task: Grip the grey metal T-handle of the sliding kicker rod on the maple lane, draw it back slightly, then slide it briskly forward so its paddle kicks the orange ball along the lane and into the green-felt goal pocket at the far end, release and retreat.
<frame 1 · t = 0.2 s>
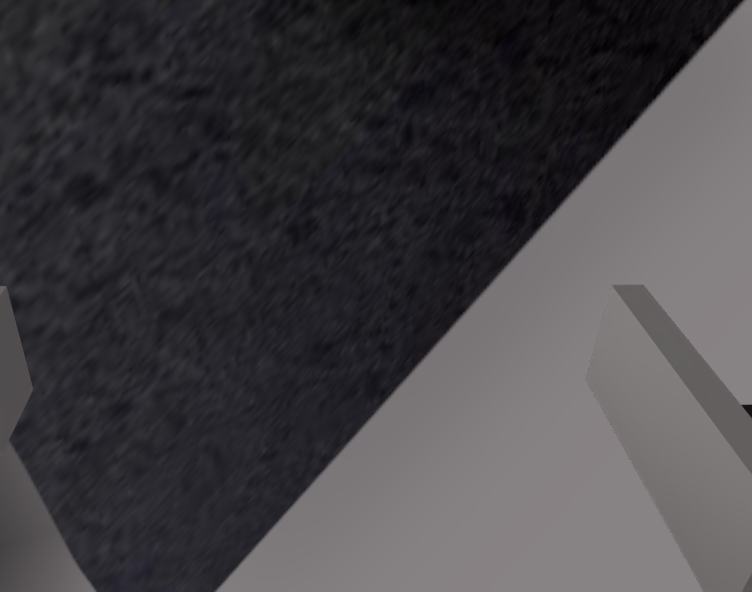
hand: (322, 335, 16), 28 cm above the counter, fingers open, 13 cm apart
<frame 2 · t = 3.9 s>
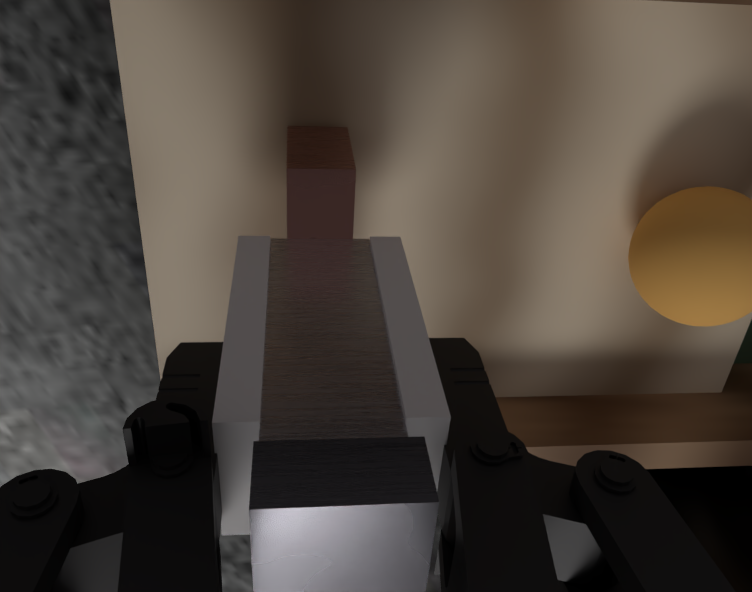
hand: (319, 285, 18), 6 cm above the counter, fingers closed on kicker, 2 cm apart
water bottle: (674, 513, 33), on the counter
kicker: (324, 354, 15), point 8 cm above the counter, slide at 0.0 cm, touching gripper
ball: (702, 256, 20), point 4 cm above the counter, touching lane
lane: (586, 198, 23), on the counter
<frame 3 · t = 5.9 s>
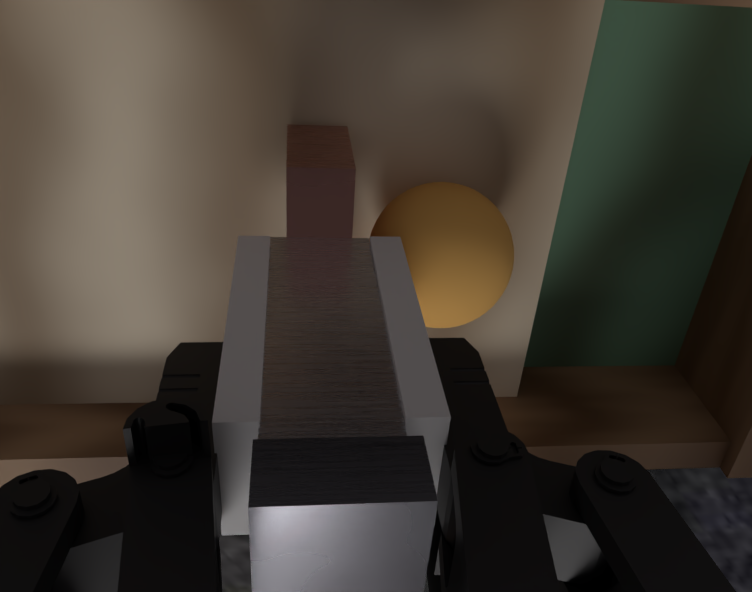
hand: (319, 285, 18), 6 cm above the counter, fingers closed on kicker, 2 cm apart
water bottle: (511, 519, 32), on the counter
kicker: (322, 353, 15), point 8 cm above the counter, slide at 7.7 cm, touching gripper
ball: (440, 255, 19), point 4 cm above the counter, touching gripper, lane
lane: (354, 194, 22), on the counter
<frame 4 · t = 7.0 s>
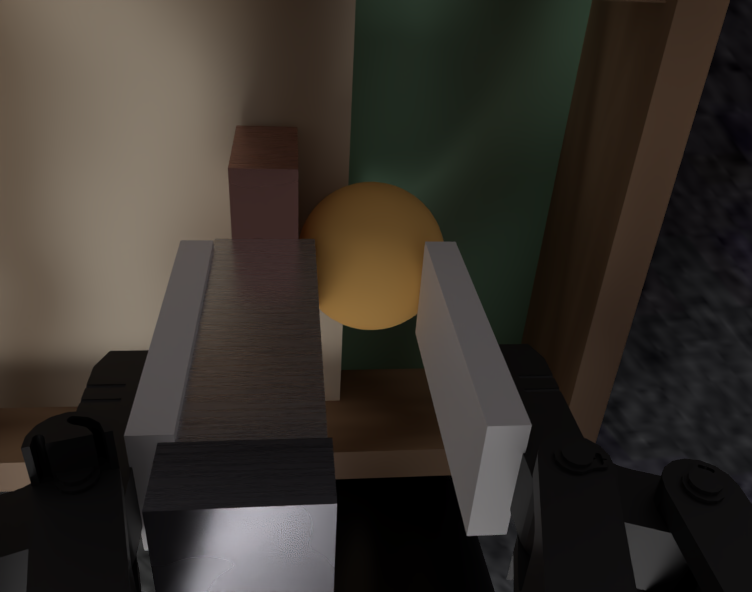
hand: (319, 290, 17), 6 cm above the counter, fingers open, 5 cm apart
water bottle: (375, 525, 31), on the counter
kicker: (262, 355, 15), point 8 cm above the counter, slide at 12.7 cm, touching ball, gripper
ball: (370, 256, 19), point 4 cm above the counter, tilted 102°, touching gripper, kicker
lane: (148, 193, 22), on the counter
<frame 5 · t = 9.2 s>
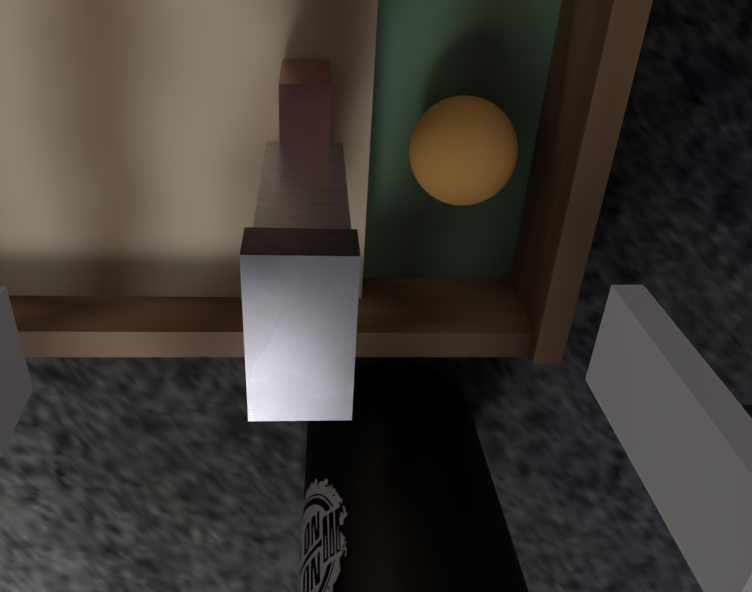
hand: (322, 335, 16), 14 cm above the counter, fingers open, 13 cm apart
water bottle: (389, 424, 36), on the counter
kicker: (303, 219, 20), point 8 cm above the counter, slide at 12.6 cm
ball: (462, 151, 26), point 2 cm above the counter, tilted 151°, touching lane
lane: (211, 120, 27), on the counter
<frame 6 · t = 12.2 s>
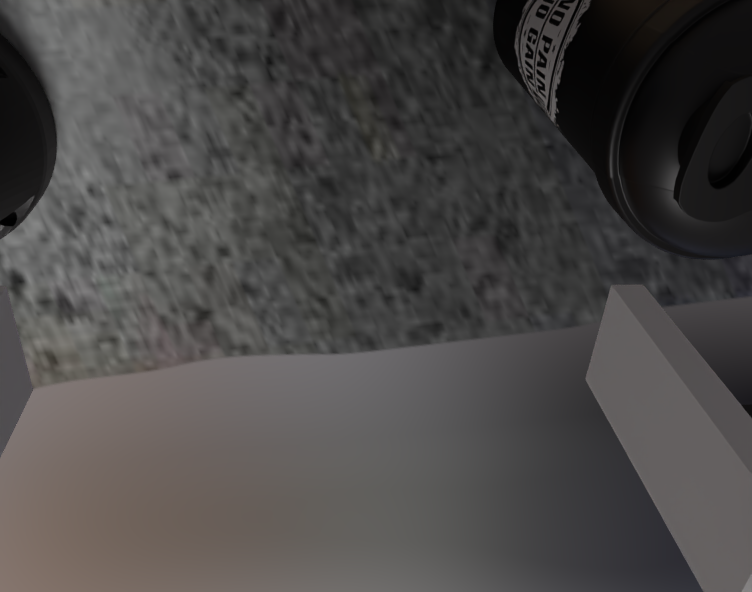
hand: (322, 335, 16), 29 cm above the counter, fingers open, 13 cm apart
water bottle: (563, 16, 41), on the counter
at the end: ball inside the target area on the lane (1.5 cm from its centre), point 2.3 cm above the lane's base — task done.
